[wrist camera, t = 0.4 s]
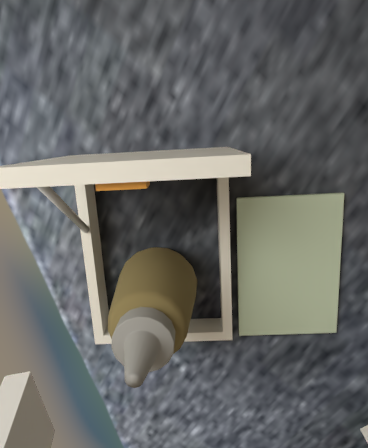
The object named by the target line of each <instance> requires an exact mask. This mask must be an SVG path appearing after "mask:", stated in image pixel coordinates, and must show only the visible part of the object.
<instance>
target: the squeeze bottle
mask: <svg viewBox="0 0 368 448" xmlns="http://www.w3.org/2000/svg"><path fill="white" fill-rule="evenodd" d="M196 291H197V278H196V276H195V273H194V270H193V267H192V266H191V265H190V264H189V263H188V261H187V260H186V259H185V258H184V257H183V256H182V255H180V254H179V253H177V252H175V251H173V250H171V249H168V248H159V247H153V248H149V249H146V250H143V251H140V252H137V253H136V254H135V255H133V256H132V257H131V258H130V259H129V260H128V261H126V263H125V265H124V267H123V269H122V271H121V273H120V276H119V279H118V283H117V286H116V290H115V293H114V297H113V300H112V304H111V308H110V311H109V315H108V332H109V334H110V337H111V339H112V350H113V352H114V355H115V357H116V359H117V360H118V361H119V362H120V363H121V364H122V365H123V366H124V367H125V382H126V384H127V385H128V386H130V387H133V388H136V387H139V386H141V385H142V383H143V381H144V380H145V378H146V376H147V374H148V372H151V371H155V370H159V369H160V368H162V367H163V366H164V365H166V364H167V363H168V362H169V360H170V359H171V357H172V355H173V354H174V353H175V352H176V351H178V350H179V349H180V348H181V346H182V344H183V342H184V340H185V339H186V337H187V333H188V329H189V324H190V320H191V315H192V311H193V307H194V302H195V298H196Z"/></svg>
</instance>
